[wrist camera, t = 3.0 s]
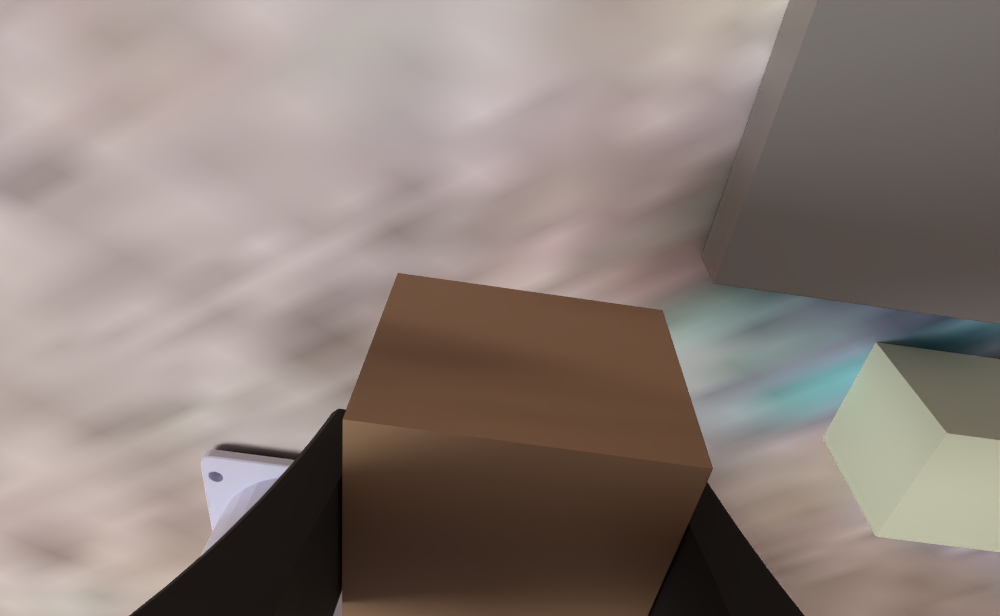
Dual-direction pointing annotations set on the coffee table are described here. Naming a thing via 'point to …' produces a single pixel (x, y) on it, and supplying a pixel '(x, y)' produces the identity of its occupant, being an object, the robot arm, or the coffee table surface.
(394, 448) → the walnut block
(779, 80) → the plinth
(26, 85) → the coffee table surface
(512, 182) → the coffee table surface
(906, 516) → the sage block
